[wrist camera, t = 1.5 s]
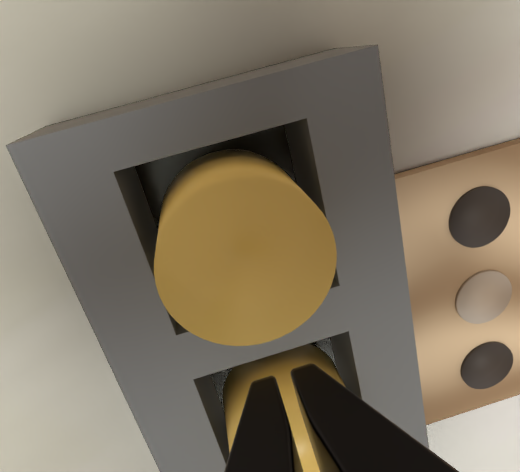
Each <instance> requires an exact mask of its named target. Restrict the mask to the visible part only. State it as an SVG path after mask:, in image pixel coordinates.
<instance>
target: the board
mask: <svg viewBox="0 0 520 472" xmlns="http://www.w3.org/2000/svg"><path fill="white" fill-rule="evenodd" d="M280 125H284V127H285V132H286V137H287V141H288V146H289V150H290V155H291V159H292V164H293V169H294V173H295V178H296V182H297V185H298V186H299V187H300V188H301V189H302V190H303V191H304V192H305V193H306V195H307V196H308V197H309V198H310V199H311V200H312V201H313V202H314V203H315V204H316V205H317V206H318V208H319V209H320V210H321V211H322V212H323V214H324V216H325V217H326V219H327V220H328V222H329V225H330V227H331V229H332V232H333V235H334V239H335V243H336V251H337V262H336V270H335V275H334V278H333V282H332V285H331V287H330V289H329V292H328V294H327V296H326V297H325V299H324V301H323V302H322V304H321V305H320V306H319V308H318V309H317V310H316V312H315V313H314V314H313V315H312V316H311V317H310V318H309V319H308V320H307V321H305V322H304V323H303V324H302V325H301V326H299V327H298V328H296V329H295V330H293V331H292V332H290V333H288V334H286V335H284V336H282V337H280V338H278V339H275V340H272V341H269V342H266V343H262V344H257V345H249V346H230V345H222V344H217V343H213V342H210V341H207V340H204V339H202V338H200V337H198V336H196V335H194V334H192V333H191V332H189V331H188V330H186V329H185V328H183V327H182V326H181V325H180V324H179V323H178V322H177V321H176V320H175V319H174V318H173V317H172V316H171V315H170V314H169V312H168V311H167V309H166V308H165V306H164V305H163V303H162V300H161V298H160V296H159V294H158V290H157V287H156V283H155V277H154V258H155V250H156V243H157V235H158V229H157V227H156V224H155V221H154V218H153V216H152V213H151V210H150V207H149V205H148V202H147V199H146V196H145V194H144V191H143V188H142V185H141V183H140V180H139V177H138V174H137V172H136V169H135V166H137V165H140V164H144V163H147V162H151V161H155V160H158V159H162V158H165V157H169V156H172V155H176V154H180V153H183V152H187V151H190V150H194V149H198V148H201V147H205V146H208V145H212V144H216V143H219V142H223V141H226V140H230V139H234V138H237V137H241V136H244V135H248V134H252V133H255V132H259V131H262V130H266V129H269V128H273V127H277V126H280ZM6 147H7V149H8V151H9V153H10V155H11V157H12V160H13V162H14V164H15V166H16V168H17V170H18V172H19V174H20V177H21V179H22V181H23V183H24V185H25V187H26V189H27V191H28V193H29V196H30V198H31V200H32V202H33V204H34V206H35V208H36V210H37V212H38V215H39V217H40V219H41V221H42V223H43V225H44V227H45V229H46V232H47V234H48V236H49V238H50V240H51V242H52V244H53V246H54V248H55V251H56V253H57V255H58V257H59V259H60V261H61V263H62V265H63V267H64V270H65V272H66V274H67V276H68V278H69V280H70V282H71V284H72V287H73V289H74V291H75V293H76V295H77V297H78V299H79V301H80V303H81V306H82V308H83V310H84V312H85V314H86V316H87V318H88V320H89V323H90V325H91V327H92V329H93V331H94V333H95V335H96V337H97V339H98V342H99V344H100V346H101V348H102V350H103V352H104V354H105V356H106V358H107V361H108V363H109V365H110V367H111V369H112V371H113V373H114V375H115V378H116V380H117V382H118V384H119V386H120V388H121V390H122V392H123V394H124V397H125V399H126V401H127V403H128V405H129V407H130V409H131V411H132V413H133V416H134V418H135V420H136V422H137V424H138V426H139V428H140V430H141V433H142V435H143V437H144V439H145V441H146V443H147V445H148V447H149V449H150V452H151V454H152V456H153V458H154V460H155V462H156V464H157V466H158V468H159V471H160V472H224V470H225V467H226V464H227V461H228V457H229V454H230V453H229V445H228V437H227V429H226V421H225V414H224V411H223V408H222V405H221V403H220V400H219V397H218V394H217V392H216V389H215V386H214V383H213V381H212V378H211V375H210V374H213V373H216V372H219V371H222V370H225V369H229V368H232V367H235V366H238V365H241V364H245V363H248V362H251V361H254V360H258V359H261V358H264V357H267V356H270V355H274V354H277V353H280V352H283V351H287V350H290V349H293V348H296V347H299V346H303V345H306V344H309V343H312V342H315V341H319V340H322V339H325V338H328V337H330V338H331V343H332V347H333V352H334V356H335V361H336V366H337V370H338V373H339V375H340V377H341V379H342V381H343V383H344V384H345V386H346V388H347V389H349V390H350V391H351V392H353V393H354V394H355V395H357V396H358V397H359V398H361V399H362V400H363V401H365V402H366V403H367V404H369V405H370V406H371V407H373V408H374V409H375V410H377V411H378V412H379V413H381V414H382V415H383V416H385V417H386V418H388V419H389V420H390V421H392V422H393V423H394V424H396V425H397V426H398V427H400V428H401V429H402V430H404V431H405V432H406V433H408V434H409V435H410V436H412V437H413V438H414V439H416V440H417V441H418V442H420V443H421V444H422V445H424V446H425V447H427V448H428V449H429V445H428V437H427V429H426V422H425V414H424V406H423V398H422V390H421V382H420V374H419V366H418V358H417V350H416V342H415V335H414V327H413V319H412V311H411V303H410V295H409V287H408V279H407V271H406V263H405V255H404V247H403V240H402V232H401V224H400V216H399V208H398V200H397V192H396V184H395V176H394V168H393V160H392V153H391V145H390V137H389V129H388V121H387V113H386V105H385V97H384V89H383V81H382V73H381V66H380V58H379V50H378V45H369V46H358V47H346V48H335V49H331V50H327V51H323V52H320V53H316V54H312V55H309V56H305V57H301V58H297V59H294V60H290V61H286V62H283V63H279V64H275V65H271V66H268V67H264V68H260V69H257V70H253V71H249V72H246V73H242V74H238V75H234V76H231V77H227V78H223V79H220V80H216V81H212V82H208V83H205V84H201V85H197V86H194V87H190V88H186V89H182V90H179V91H175V92H171V93H168V94H164V95H160V96H156V97H153V98H149V99H145V100H142V101H138V102H134V103H131V104H127V105H123V106H119V107H116V108H112V109H108V110H105V111H101V112H97V113H93V114H90V115H86V116H82V117H79V118H75V119H71V120H67V121H64V122H60V123H56V124H53V125H49V126H45V127H43V128H41V129H39V130H37V131H35V132H33V133H31V134H29V135H27V136H25V137H22V138H20V139H18V140H16V141H14V142H12V143H10V144H8V145H6Z"/></svg>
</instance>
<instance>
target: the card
mask: <svg viewBox="0 0 520 472" xmlns="http://www.w3.org/2000/svg"><path fill="white" fill-rule="evenodd" d="M394 176H395V184H396V192H397V200H398V208H399V216H400V224H401V232H402V240H403V247H404V255H405V263H406V271H407V279H408V287H409V295H410V303H411V311H412V319H413V327H414V335H415V342H416V350H417V358H418V366H419V374H420V382H421V390H422V398H423V406H424V414H425V422H426V425H428V424H431V423H434V422H437V421H440V420H443V419H446V418H449V417H452V416H455V415H458V414H461V413H464V412H467V411H470V410H474V409H477V408H480V407H483V406H486V405H489V404H492V403H495V402H498V401H501V400H504V399H507V398H510V397H513V396H516V395H519V394H520V138H518V139H515V140H511V141H508V142H504V143H501V144H497V145H494V146H490V147H487V148H484V149H480V150H477V151H473V152H470V153H466V154H463V155H459V156H456V157H453V158H449V159H446V160H442V161H439V162H435V163H432V164H428V165H425V166H422V167H418V168H415V169H411V170H408V171H404V172H401V173H397V174H394Z"/></svg>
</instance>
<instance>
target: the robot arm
mask: <svg viewBox="0 0 520 472" xmlns="http://www.w3.org/2000/svg"><path fill="white" fill-rule="evenodd" d="M290 373H291V378H292V382H293V386H294V389H295V393H296V397H297V400H298V404H299V408H300V411H301V414H302V418H303V421H304V424H305V427H306V430H307V433H308V436H309V439H310V442H311V445H312V449H313V452H314V455H315V458H316V461H317V464H318V467H319V470H320V472H459V471H457V470H456V469H455V468H453V467H452V466H451V465H449V464H448V463H447V462H445V461H444V460H443V459H441V458H440V457H439V456H437V455H436V454H435V453H433V452H432V451H431V450H429V449H428V448H427V447H425V446H424V445H422V444H421V443H420V442H418V441H417V440H416V439H414V438H413V437H412V436H410V435H409V434H408V433H406V432H405V431H404V430H402V429H401V428H400V427H398V426H397V425H396V424H394V423H393V422H392V421H390V420H389V419H388V418H386V417H385V416H383V415H382V414H381V413H379V412H378V411H377V410H375V409H374V408H373V407H371V406H370V405H369V404H367V403H366V402H365V401H363V400H362V399H361V398H359V397H358V396H357V395H355V394H354V393H353V392H351V391H350V390H349V389H347V388H346V387H344V386H343V385H342V384H340V383H339V382H338V381H336V380H335V379H334V378H332V377H331V376H330V375H328V374H327V373H326V372H324V371H323V370H322V369H320V368H319V367H318V366H316V365H315V364H312V363H309V364H306V365H303V366H300V367H296V368H293V369H292V370H291V372H290ZM224 472H303V468H302V465H301V461H300V458H299V454H298V451H297V447H296V444H295V440H294V437H293V434H292V430H291V427H290V423H289V420H288V416H287V413H286V410H285V407H284V403H283V400H282V397H281V393H280V390H279V387H278V384H277V380H276V378H275V377H274V376H268V377H264V378H261V379H258V380H255V381H253V382H252V383H251V385H250V388H249V391H248V395H247V398H246V401H245V404H244V408H243V411H242V414H241V418H240V421H239V424H238V428H237V431H236V434H235V437H234V441H233V444H232V447H231V451H230V454H229V457H228V461H227V464H226V467H225V470H224Z"/></svg>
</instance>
